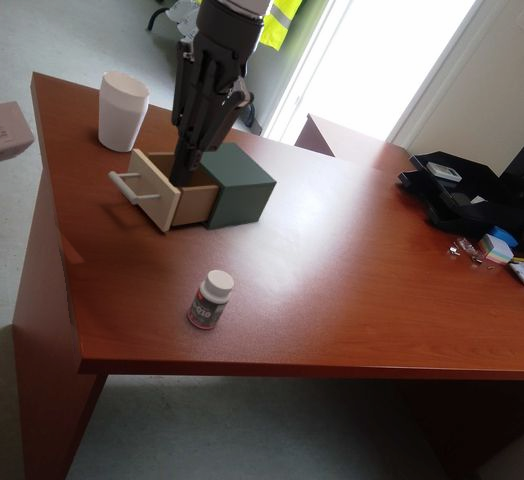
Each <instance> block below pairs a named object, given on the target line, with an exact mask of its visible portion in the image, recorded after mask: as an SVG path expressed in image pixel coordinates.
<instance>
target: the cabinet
mask: <svg viewBox="0 0 524 480" xmlns="http://www.w3.org/2000/svg"><path fill="white" fill-rule="evenodd" d="M199 166H200V167H201V168H202V169H203V170H204V171H205V172H206V173H207V174H208V175H209V176H210V177H211V178H212V179H213V180H214V181H215V182H216V183H217V184H218V185H219V186H220V187H221V190H220V192H219V195H218V197H217V200H216V203H215V205H214V208H213V210H212V213H211V215H210V218H209V220H207V221H201V222H200V223H201V225H202V226H203V227H204V228H205V229H206V230H207V231H210V230H216V229H223V228H229V227H233V226H240V225H246V224H251V223H252V224H253V223H257V222H259V221H260V219H261V217H262V214H263V213H264V210H265V208H266V206H267V204H268V202H269V200H270V198H271V196H272V194H273V192H274V189H275V187H276V185H277V183H278V182H277V180H276V179H274V178H273V177H272V175H270V173H268V172H267V171H266V170H265V169H264V168H263V167H262V166H260V165H259V164H258V163H257V161H255V160H254V159H253V158H252V157H251V156H250V155H249V154H248V153H247V152H245V151H244V150H243V149H242V148H241V146H239V145H238V144H237V143H236V142H222V144H221V145H220V147H219V149H218V150H217V151H216V152H203V155H202V158H201V161H200V163H199Z"/></svg>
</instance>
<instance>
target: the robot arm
mask: <svg viewBox="0 0 524 480" xmlns="http://www.w3.org/2000/svg"><path fill="white" fill-rule="evenodd" d="M273 3H274V0H201V1H200V4H199V9H198V12H197V16H196V19H195V25H196V28H197V29H198V31H197V32H196V33H195V35H194V37H193V39H192V41H182V40H178V41H177V42H176V45H175V48H176V59H177V65H176V66H177V67H176V74H175V82H174V83H175V84H174V91H173V99H172V100H173V101H172V109H171V117H170V118H171V119H170V121H171V125H172V126H174V127H176V129H177V137H178V139H177V142H176V145H175V148H174V151H173V152H174V157H175V161H174V165H173V168H172V171H171V174H170V178H169V182H170V183H171V184H172V185H173V186H174V187H184V186H189V183H190V180H191V177H192V174H193V171H194V170H197V168H198V166H199V163H200V161H201V158H202V155H203V152H216V151H217V150H218V149H219V147H220V145H221V144H222V143H224V141H225V139H226V138H227V136H228V135H229V132H230V131H231V129H232V128H233V127H234V124H235V123H236V122H237V120H238V119H239V118H240V115H241V114H242V112H243V111H244V109H246V108H247V107H249V106H250V105H251V104H253V102H254V101H255V95H254V92H252V91H249V90H248V88H247V85H246V81H245V78H246V76H247V65H248V61H249V60H250V58H251V56H253V54H254V53H255V52H256V50H257V47H258V45H259V42H260V39H261V36H262V33H263V31H264V28H265V21H264V18H263V17H266V16H268V15H269V14H270V12H271V11H270V10H271V8H272V5H273Z"/></svg>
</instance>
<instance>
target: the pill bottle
mask: <svg viewBox="0 0 524 480" xmlns="http://www.w3.org/2000/svg"><path fill="white" fill-rule="evenodd" d="M234 287H235V281H234V279H233V278H232V276H231V275H230V274H229V273H227V272H226V271H222V270H219V269H214V270H210V271H209V272H208V273H207V276H206V277H205V279H204V280H202V282H201V283H200V284H199V286H198V288H197V291H196V294H195V296H194V297H193V300H192V303H191V304H190V307H189V309H188V313H187V316H188V319H189V321H190V322H191V323H192V324H193V325H194V326H196V327H197V328H199V329H203V330H208V329H209V330H210V329H213V328H215V327H216V326H217V325H218V322H219V320H220V318H221V316H222V315H223V312H224V310H225V309H226V307H227V305H228V303H229V301H230V299H231V295H232V294H231V293H232V291H233V289H234Z"/></svg>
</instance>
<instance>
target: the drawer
mask: <svg viewBox="0 0 524 480" xmlns="http://www.w3.org/2000/svg"><path fill="white" fill-rule="evenodd" d="M174 161H175V157H174V151H148V152H146V155H145V154H144V152H143V151H141V150H140V149H139V148H132V149H131V155H130V160H129V165H128V168H127V172H126V173H117V172H116V171H114V170H112V171H110V172H109V173H108V174H107V177H108V179H109V180H110V181H111V182H112V184H114V185H115V187H116V188H117V189H118V190H119V191H120V192H121V193H122V194H123V195H124V197H126V199H127V200H128V201H129V202H130V203H131V205H138V206H139V207H140V208H141V209H142V211H144V213H145V214H146V215H147V216H148V217H149V218H150V220H152V221H153V222H154V224H155V225H156V226H157V227H158V229H160V230H161V231H162V232H168V231H169V230H170V228H171V226H172V227H176V226H181V225H188V224H194V223H201V221H207V220H209V218H210V215H211V213H212V210H213V208H214V205H215V203H216V200H217V197H218V195H219V192H220V190H221V187H220V186H219V185H218V184H217V183H216V182H215V181H214V180H213V179H212V178H211V177H210V176H209V175H208V174H207V173H206V172H205V171H204V170H203V169H202V168H201V167H200V166H198V168H197V170H194V171H193V174H192V177H191V180H190V183H189V186H184V187H174V186H173V185H172V184H171V183H170V182H169V178H170V174H171V171H172V168H173V165H174ZM124 179H125V181H124Z"/></svg>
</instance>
